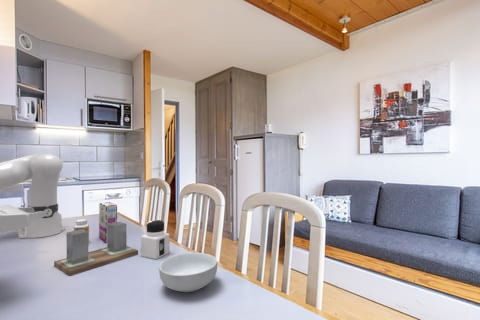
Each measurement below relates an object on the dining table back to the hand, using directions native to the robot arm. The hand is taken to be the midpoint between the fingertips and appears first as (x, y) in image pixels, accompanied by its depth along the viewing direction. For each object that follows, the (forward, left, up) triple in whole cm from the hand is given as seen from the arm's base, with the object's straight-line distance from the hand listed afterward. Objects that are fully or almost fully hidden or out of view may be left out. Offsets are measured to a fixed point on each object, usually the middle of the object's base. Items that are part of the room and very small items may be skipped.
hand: (38, 211), depth 83 cm
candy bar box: (-22, +33, -21) cm, 45 cm away
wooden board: (-1, +19, -21) cm, 28 cm away
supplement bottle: (-25, +23, -21) cm, 40 cm away
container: (+11, +35, -21) cm, 42 cm away
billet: (-1, +26, -19) cm, 32 cm away
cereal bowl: (+40, +26, -21) cm, 52 cm away
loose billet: (-1, +12, -19) cm, 22 cm away
